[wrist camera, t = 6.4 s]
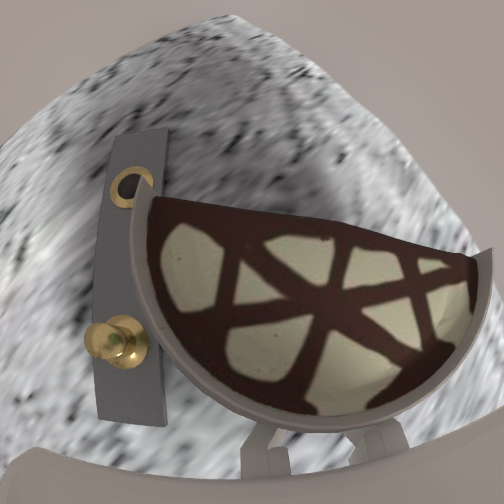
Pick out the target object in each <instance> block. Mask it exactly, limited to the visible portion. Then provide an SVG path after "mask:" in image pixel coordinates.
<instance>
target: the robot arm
mask: <svg viewBox="0 0 504 504" xmlns="http://www.w3.org/2000/svg"><path fill="white" fill-rule="evenodd" d="M287 431H288V430H285V429H280V428H275V427H271V426H267V425H264V424H261V423H259V422H258V423H257V424H256V426H255V427H254V429H253V430H252V432H251V433H250V435H249V436H248V438H247V439H246V441H245V442H244V444H243V445H242V447H241V448H240V452H241V479H194V478H180V477H169V476H160V475H152V474H145V473H138V472H132V471H126V470H121V469H116V468H111V467H106V466H102V465H98V464H94V463H90V462H86V461H82V460H78V459H75V458H72V457H68V456H65V455H62V454H59V453H56V452H53V451H50V450H47V449H44V448H41V447H33V448H31V449H29V450H27V451H26V452H24V453H22V454H21V455H19V456H18V457H17V458H15V459H14V460H12V461H11V462H10V464H9V465H8V467H7V469H6V471H5V473H4V475H3V478H2V481H1V483H0V504H504V405H503V406H502V407H500V408H498V409H496V410H495V411H493V412H491V413H489V414H487V415H486V416H484V417H482V418H480V419H478V420H476V421H474V422H472V423H470V424H468V425H466V426H464V427H462V428H460V429H458V430H455V431H453V432H451V433H449V434H446V435H444V436H442V437H439V438H437V439H434V440H432V441H429V442H427V443H424V444H421V445H419V446H416V447H413V448H409V445H408V442H407V440H406V437H405V434H404V432H403V429H402V426H401V424H400V422H398V421H397V420H395V419H394V418H393V417H392V418H390V419H387V420H385V421H382V422H380V423H377V424H375V425H372V426H369V427H364V428H360V429H355V430H350V431H344V432H342V433H343V434H344V435H345V436H346V437H347V438H348V439H349V440H350V441H351V442H352V443H353V444H354V445H355V446H356V448H355V450H354V451H353V453H352V455H351V456H350V458H349V459H348V461H349V465H350V466H346V467H341V468H337V469H331V470H326V471H320V472H314V473H307V474H300V475H292V476H291V469H290V462H289V455H288V449H287V448H285V447H283V446H282V447H279V446H280V444H281V442H282V440H283V438H284V436H285V434H286V433H287Z"/></svg>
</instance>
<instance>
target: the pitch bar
mask: <svg viewBox="0 0 504 504" xmlns="http://www.w3.org/2000/svg"><path fill="white" fill-rule="evenodd" d="M169 138H170V130H169V127H167V128H160V129H153V130H147V131H141V132H135V133H130V134H124V135H119V136H115V140H114V144H113V148H112V152H111V157H110V161H109V166H108V171H107V176H106V181H105V187H104V193H103V198H102V205H101V211H100V218H99V226H98V234H97V243H96V253H95V265H94V280H93V302H92V325H91V326H90V327H89V328H88V329H87V331H86V333H85V346H86V349H87V351H88V352H89V353H90V354H91V355H92V356H93V369H94V383H95V394H96V404H97V412H98V419H100V420H106V421H113V422H120V423H127V424H136V425H145V426H156V427H166V426H167V425H168V423H167V413H166V403H165V392H164V379H163V363H162V347H161V345H160V344H159V342H158V341H157V339H156V338H155V337H154V335H153V333H152V330H151V328H150V326H149V324H148V322H147V320H146V318H145V315H144V313H143V311H142V309H141V306H140V304H139V300H138V296H137V293H136V289H135V285H134V281H133V276H132V272H131V259H130V242H129V240H130V223H131V215H132V207H133V200H134V197H135V193H136V190H137V187H138V183H139V180H140V177H141V176H143V177H144V178H145V179H146V181H147V182H148V183H149V185H150V186H151V187H152V189H153V190H154V191H155V193H156V194H157V195H158V196H160V197H164V188H165V176H166V165H167V155H168V146H169Z"/></svg>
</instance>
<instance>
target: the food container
mask: <svg viewBox="0 0 504 504" xmlns="http://www.w3.org/2000/svg"><path fill="white" fill-rule="evenodd" d="M129 242H130V259H131V272H132V276H133V281H134V285H135V289H136V293H137V296H138V300H139V304H140V306H141V309H142V311H143V313H144V315H145V318H146V320H147V322H148V324H149V326H150V328H151V330H152V333H153V335H154V337H155V338H156V339H157V341H158V342H159V344H160V345H161V347H162V348H163V350H164V351H165V352H166V354H167V355H168V357H169V358H170V359H171V361H172V362H173V363H174V365H175V366H176V367H177V368H178V369H179V370H180V371H181V372H182V373H183V374H184V375H185V376H186V377H187V378H188V379H189V380H190V381H191V382H192V383H193V384H194V385H195V386H197V387H198V388H199V389H200V390H201V391H202V392H203V393H205V394H206V395H208V396H209V397H211V398H212V399H214V400H215V401H217V402H218V403H220V404H222V405H223V406H225V407H226V408H228V409H229V410H231V411H233V412H235V413H237V414H239V415H242V416H244V417H246V418H249V419H251V420H254V421H256V422H259V423H261V424H264V425H267V426H271V427H275V428H280V429H285V430H290V431H296V432H301V433H339V432H344V431H350V430H355V429H360V428H364V427H369V426H372V425H375V424H377V423H380V422H382V421H385V420H387V419H390V418H392V417H394V416H397V415H399V414H401V413H402V412H404V411H406V410H408V409H411V408H412V407H414V406H415V405H417V404H418V403H420V402H421V401H423V400H424V399H425V398H427V397H428V396H430V395H431V394H433V393H434V392H435V391H436V390H438V389H439V388H440V387H441V386H442V385H443V384H444V383H445V382H446V381H447V380H448V379H449V378H450V377H451V376H452V375H453V373H454V372H455V371H456V370H457V369H458V368H459V366H460V365H461V363H462V362H463V361H464V359H465V358H466V356H467V355H468V353H469V352H470V350H471V349H472V347H473V345H474V343H475V341H476V339H477V337H478V335H479V332H480V330H481V328H482V326H483V324H484V321H485V317H486V314H487V310H488V307H489V303H490V299H491V294H492V286H493V277H494V250H493V248H490V249H487V250H485V251H483V252H481V253H478V254H476V255H474V256H472V257H469V256H465V255H463V254H461V253H451V252H445V251H441V250H437V249H433V248H429V247H425V246H421V245H417V244H414V243H410V242H407V241H403V240H400V239H396V238H393V237H390V236H387V235H384V234H380V233H377V232H374V231H371V230H367V229H364V228H360V227H356V226H353V225H349V224H346V223H342V222H338V221H331V220H324V219H318V218H311V217H303V216H294V215H284V214H276V213H269V212H261V211H253V210H245V209H239V208H233V207H227V206H220V205H214V204H208V203H201V202H194V201H188V200H181V199H174V198H167V197H160V196H158V195H157V194H156V193H155V191H154V190H153V189H152V187H151V186H150V185H149V183H148V182H147V181H146V179H145V178H144V177H143V176H141V177H140V180H139V183H138V187H137V190H136V193H135V197H134V200H133V207H132V215H131V223H130V240H129Z"/></svg>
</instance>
